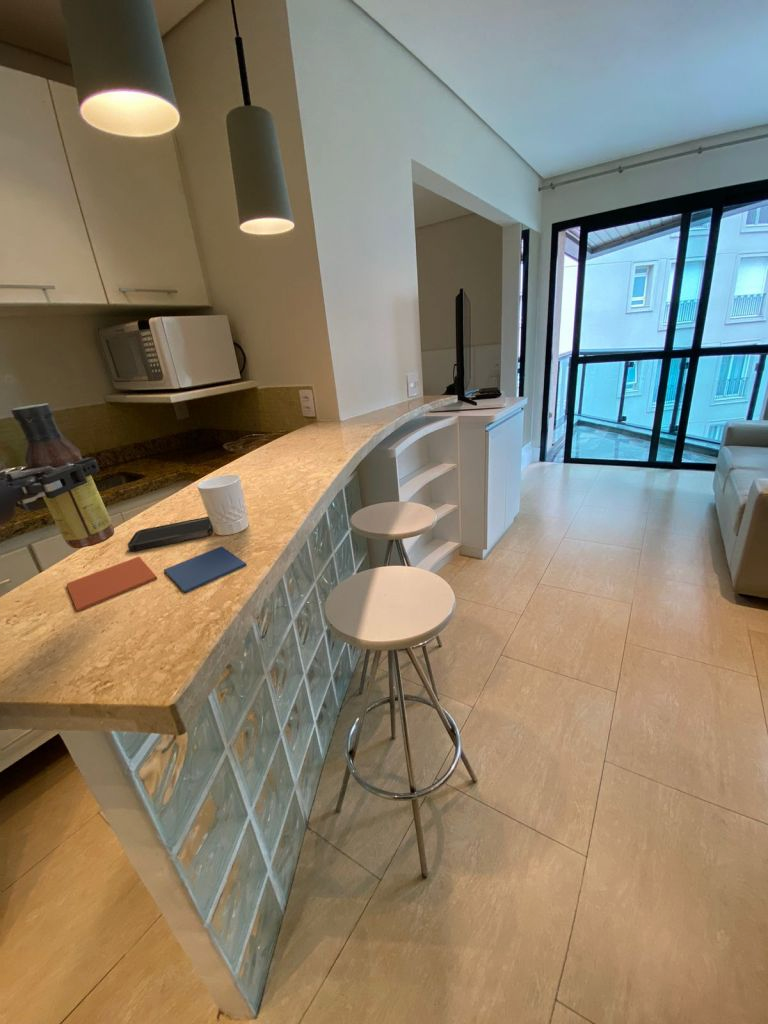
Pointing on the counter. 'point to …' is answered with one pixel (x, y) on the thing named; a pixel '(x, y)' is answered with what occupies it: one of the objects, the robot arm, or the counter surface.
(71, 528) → the sauce bottle
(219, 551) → the slate-blue mat
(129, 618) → the counter surface
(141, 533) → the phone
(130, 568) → the terracotta mat
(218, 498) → the white cup
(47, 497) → the robot arm
